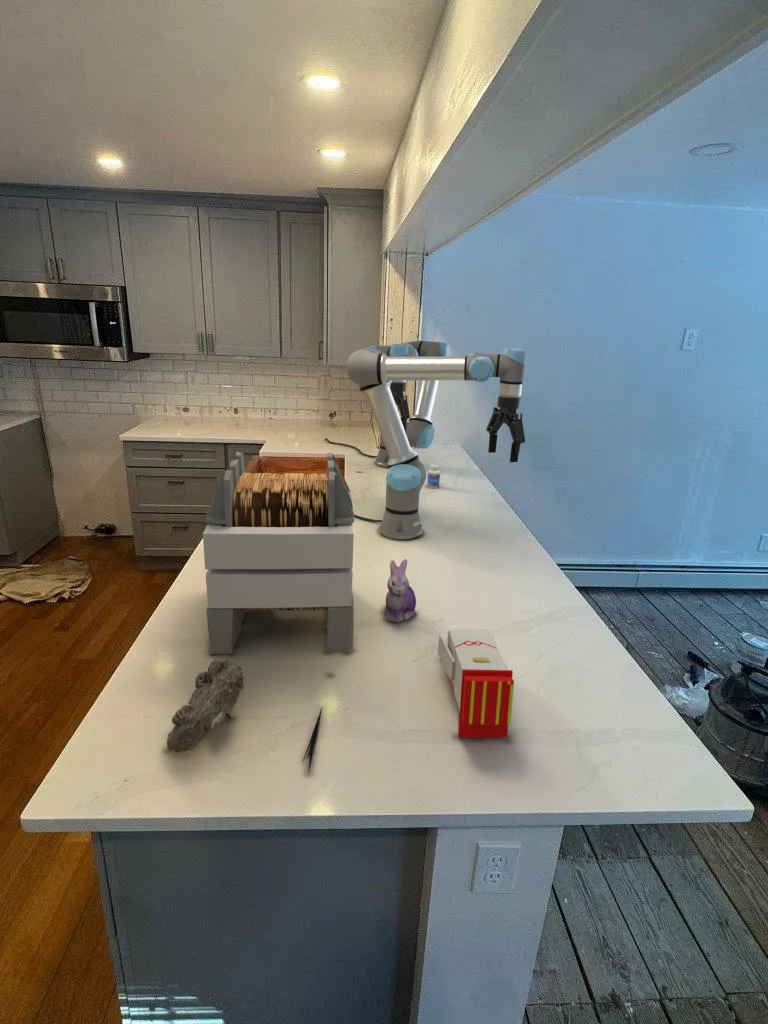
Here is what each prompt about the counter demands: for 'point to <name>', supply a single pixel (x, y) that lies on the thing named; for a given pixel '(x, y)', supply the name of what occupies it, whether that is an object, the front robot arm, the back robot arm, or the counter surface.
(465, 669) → the toy
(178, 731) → the fossil
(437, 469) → the pill bottle
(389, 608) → the figurine
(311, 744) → the feather
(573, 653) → the counter surface
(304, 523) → the record crate stand
